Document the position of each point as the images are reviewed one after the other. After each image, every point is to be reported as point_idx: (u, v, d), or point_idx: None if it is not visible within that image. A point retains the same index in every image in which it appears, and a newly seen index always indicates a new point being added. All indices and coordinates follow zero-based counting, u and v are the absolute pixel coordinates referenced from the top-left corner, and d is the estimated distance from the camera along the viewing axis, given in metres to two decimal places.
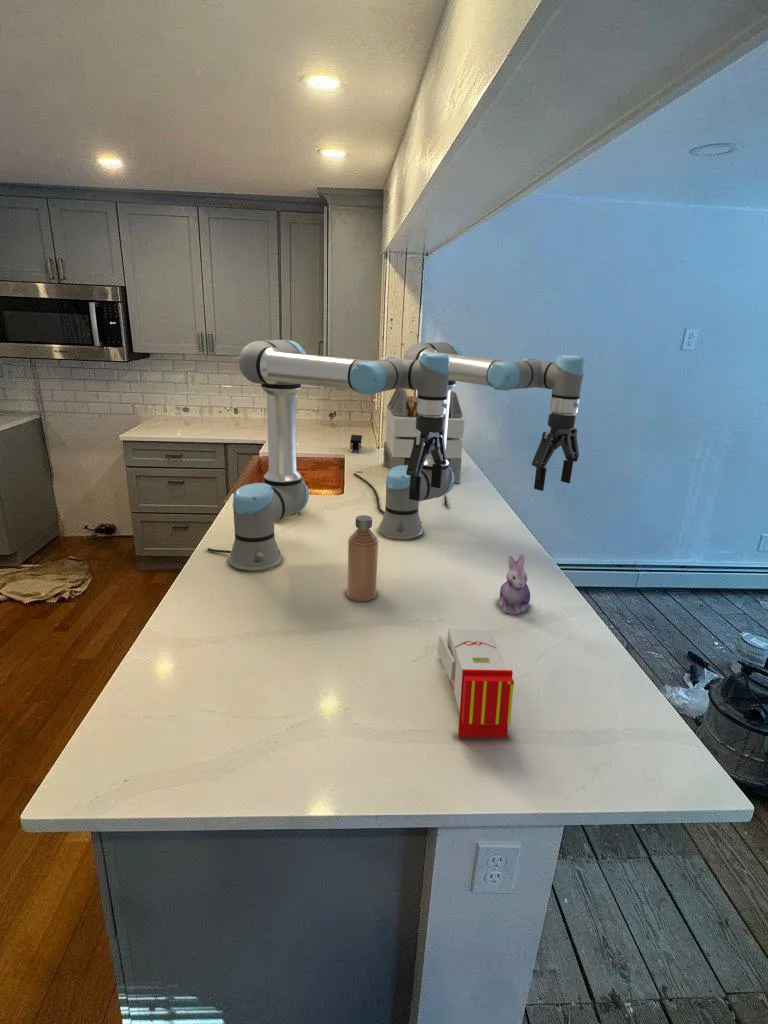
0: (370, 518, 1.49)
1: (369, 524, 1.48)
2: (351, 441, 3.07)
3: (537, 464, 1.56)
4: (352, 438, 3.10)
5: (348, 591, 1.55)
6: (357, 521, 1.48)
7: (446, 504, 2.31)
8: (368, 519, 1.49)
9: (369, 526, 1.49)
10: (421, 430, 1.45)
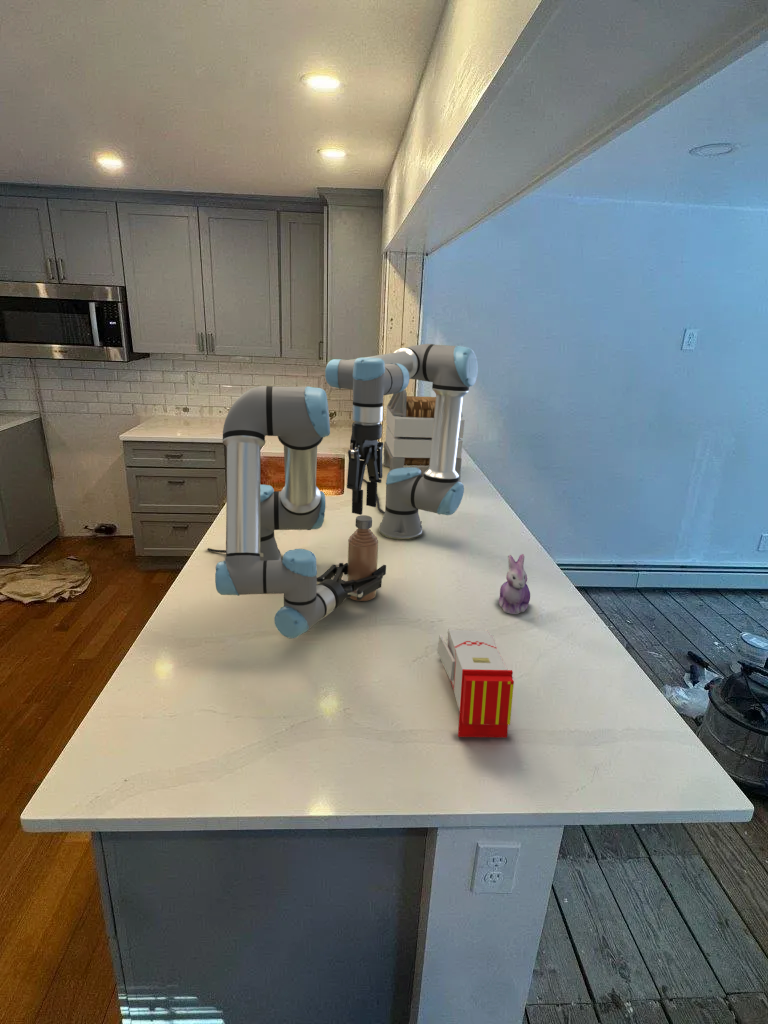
0: (370, 518, 1.49)
1: (369, 524, 1.48)
2: (351, 441, 3.07)
3: None
4: (352, 438, 3.10)
5: None
6: (357, 521, 1.48)
7: None
8: (368, 519, 1.49)
9: (369, 526, 1.49)
10: None
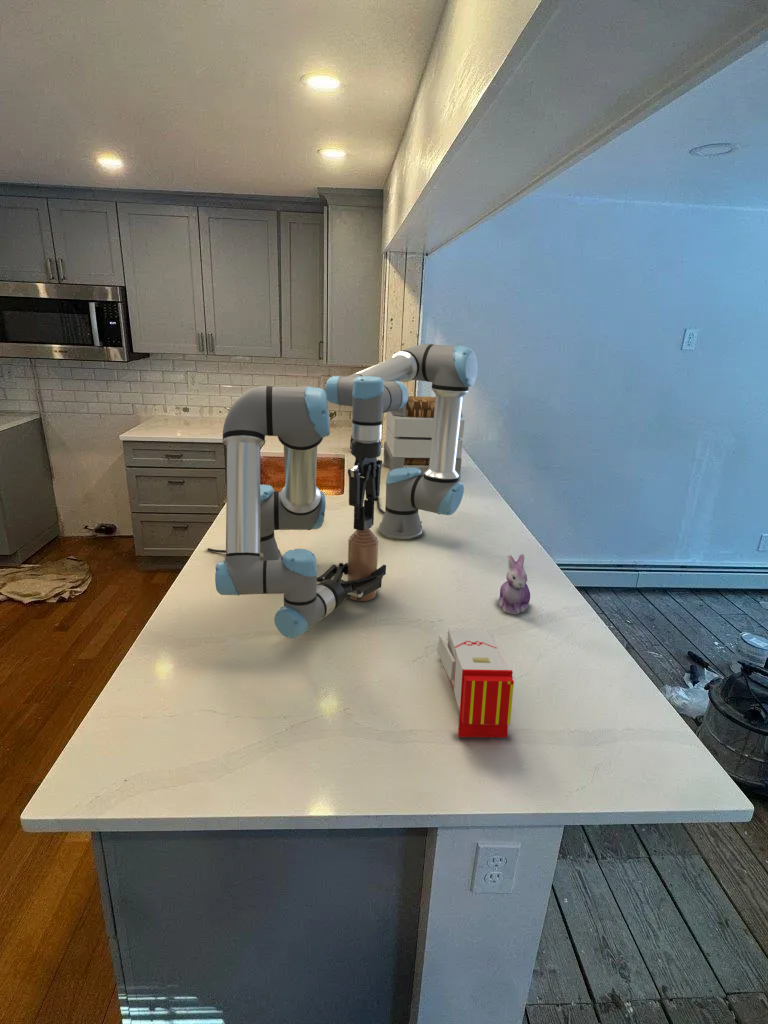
0: (370, 518, 1.49)
1: (369, 524, 1.48)
2: (351, 441, 3.07)
3: None
4: (352, 438, 3.10)
5: None
6: None
7: None
8: (368, 519, 1.49)
9: (369, 526, 1.49)
10: None
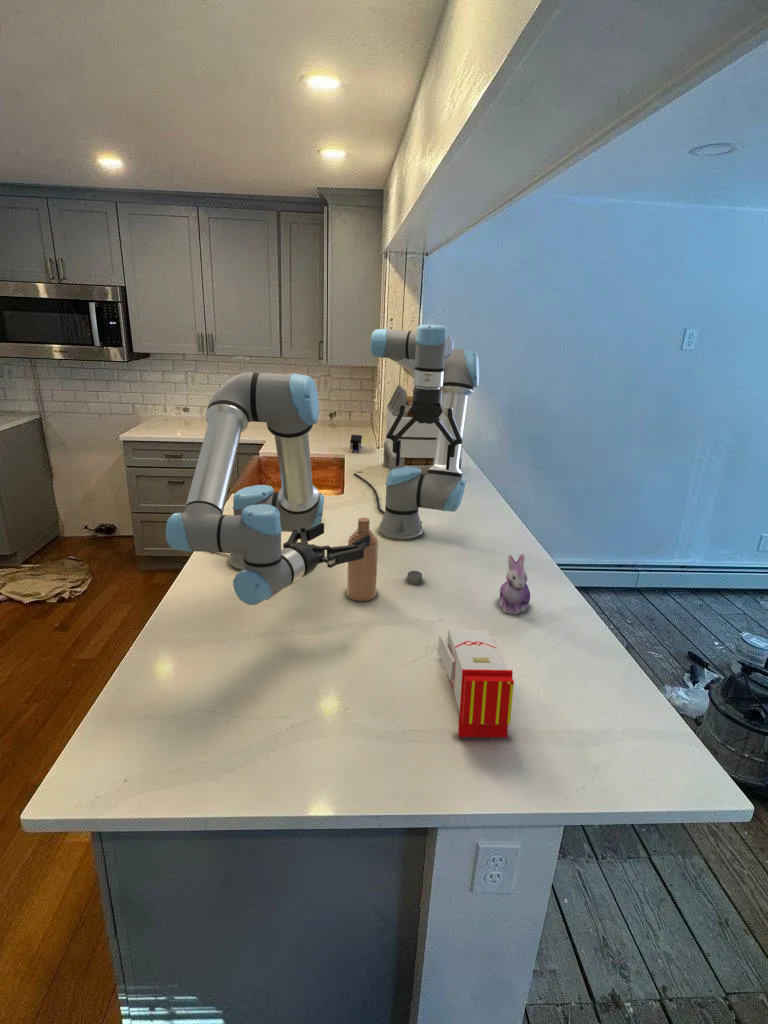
0: (416, 571, 1.66)
1: None
2: (351, 441, 3.07)
3: None
4: (352, 438, 3.10)
5: (348, 591, 1.55)
6: (418, 578, 1.63)
7: None
8: (418, 572, 1.66)
9: None
10: None
